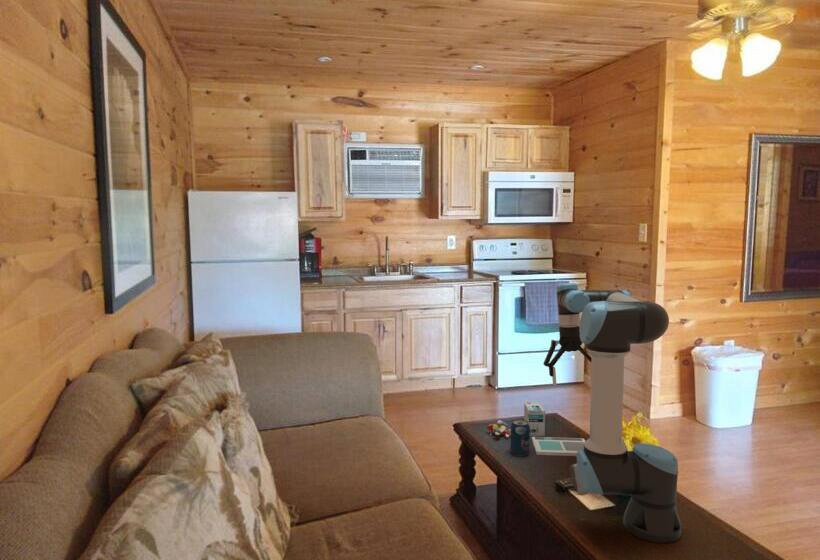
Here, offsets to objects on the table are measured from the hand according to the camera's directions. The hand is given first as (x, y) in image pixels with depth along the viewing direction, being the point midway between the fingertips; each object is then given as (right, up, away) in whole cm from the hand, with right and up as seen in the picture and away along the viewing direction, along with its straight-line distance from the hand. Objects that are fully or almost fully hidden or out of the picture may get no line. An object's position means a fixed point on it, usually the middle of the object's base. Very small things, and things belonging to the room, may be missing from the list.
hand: (573, 383), depth 206 cm
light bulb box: (-9, -25, +26) cm, 37 cm away
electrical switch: (-3, -30, -22) cm, 37 cm away
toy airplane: (-23, -25, +22) cm, 40 cm away
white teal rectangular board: (-2, -26, +10) cm, 28 cm away
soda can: (-19, -27, +5) cm, 33 cm away
